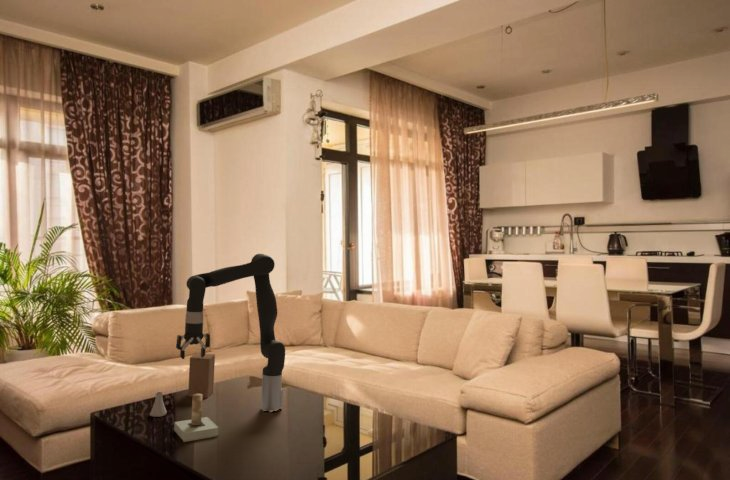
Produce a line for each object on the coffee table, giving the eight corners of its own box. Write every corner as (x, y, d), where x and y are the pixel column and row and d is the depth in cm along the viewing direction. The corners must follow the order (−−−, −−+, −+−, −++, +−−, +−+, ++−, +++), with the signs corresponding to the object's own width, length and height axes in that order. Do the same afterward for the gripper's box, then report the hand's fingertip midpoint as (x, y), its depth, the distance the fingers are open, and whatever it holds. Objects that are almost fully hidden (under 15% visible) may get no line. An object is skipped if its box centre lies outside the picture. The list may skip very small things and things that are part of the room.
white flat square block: (206, 424, 237) (207, 416, 237) (218, 435, 226) (218, 427, 226) (174, 430, 229) (174, 422, 229) (184, 441, 218) (184, 433, 218)
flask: (160, 418, 242) (161, 395, 242) (146, 416, 244) (147, 394, 244) (169, 412, 249) (170, 391, 249) (155, 411, 251) (156, 389, 251)
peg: (199, 430, 230) (200, 393, 230) (202, 433, 227) (204, 395, 227) (189, 432, 228) (191, 394, 228) (192, 435, 225) (194, 397, 224)
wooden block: (207, 398, 273) (209, 358, 272) (187, 397, 273) (189, 357, 273) (213, 392, 283) (215, 354, 282) (194, 391, 283) (196, 352, 283)
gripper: (180, 323, 233) (178, 361, 233) (213, 321, 241) (211, 358, 241) (175, 320, 239) (173, 357, 239) (207, 319, 247) (205, 354, 247)
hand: (192, 357), depth 240 cm, fingers open, 8 cm apart
